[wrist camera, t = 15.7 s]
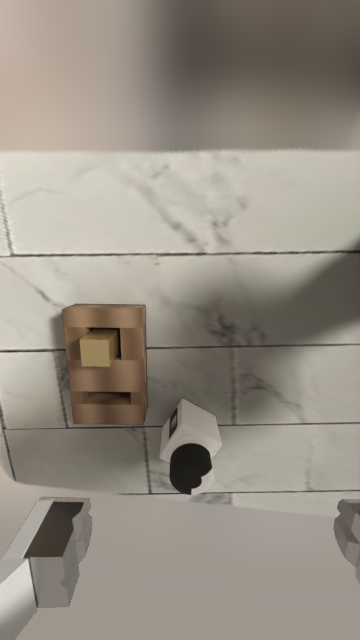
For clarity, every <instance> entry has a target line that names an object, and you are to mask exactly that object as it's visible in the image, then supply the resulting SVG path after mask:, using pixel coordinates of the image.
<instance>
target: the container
mask: <svg viewBox="0 0 360 640" xmlns="http://www.w3.org/2000/svg"><path fill="white" fill-rule="evenodd" d="M221 446H222V442H221V438H220V434H219V430H218V425H217V421H216V417H215V415H213V414H211V413H209V412H207V411H205V410H203V409H202V408H200V407H198V406H196V405H194V404H192V403H190V402H188V401H187V400H185V399H181V400H180V402H179V403H178V405H177V406H176V408H175V409H174V411H173V412H172V414H171V415H170V417H169V418H168V420H167V421H166V423H165V424H164V426H163V428H162V437H161V446H160V456H159V457H160V459H162V460H164V461H166V462H168V463H170V481H171V483H172V485H173V486H174V487H175V488H176V489H177V490H178V491H180V492H181V493H184V494H188V495H196V494H200V493H202V492H204V491H206V490H207V489H208V488H209V487H210V486H211V485H212V483H213V481H214V468H213V462H212V458H213V457H214V455H215V454H216V452H217V451H218V450H219V448H220V447H221Z"/></svg>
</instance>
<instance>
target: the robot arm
mask: <svg viewBox="0 0 360 640" xmlns="http://www.w3.org/2000/svg"><path fill="white" fill-rule="evenodd" d="M90 507H91V505H90V499H89V498H69V497H41V498H40V499H39V500H38V501H37V502H36V504H35V505H34V507H33V508H32V510H31V512H30V513H29V515H28V517H27V518H26V520H25V522H24V523H23V525H22V527H21V528H20V530H19V531H18V533H17V535H16V536H15V538H14V540H13V541H12V543H11V545H10V546H9V548H8V550H7V551H6V553H5V554H4V556H3V558H0V640H15V639H16V637H17V636H18V635H19V633H20V632H21V631H22V630H23V628H24V627H25V626H26V624H27V623H28V622H29V621H30V619H31V618H32V617H33V615H34V614H35V613H36V611H37V608H53V607H69V606H70V603H71V600H72V597H73V593H74V590H75V587H76V584H77V581H78V578H79V566H78V564H79V563H80V562H81V561H82V559H83V558H84V557H85V556H86V553H87V550H88V546H89V542H90V538H91V532H92V517H91V516H90V515H89V514H88V513H89V510H90ZM337 509H338V510H339V512H340V515H339V516H338V517H337V518H336V519H335V521H334V532H335V537H336V540H337V543H338V545H339V548H340V549H341V551H342V553H343V555H344V557H345V558H346V559H347V560H348V561H349V562H350V563H351V564H353V565H354V566H355V571H356V578H357V580H358V581H359V583H360V499H342V500H340V501H339V502H338V507H337Z"/></svg>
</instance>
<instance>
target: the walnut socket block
mask: <svg viewBox="0 0 360 640" xmlns="http://www.w3.org/2000/svg"><path fill="white" fill-rule="evenodd" d="M62 315H63V325H64V335H65V345H66V354H67V364H68V374H69V384H70V393H71V403H72V413H73V423H74V424H123V425H144V421H145V417H146V412H147V408H148V404H147V353H146V305H127V304H74V305H71V306H69V307H66V308H64V309H62ZM96 327H104V328H120V337H121V351H120V353H119V354H118V356H117V357H116V359H115V360H114V361H113V363H112V364H111V366H110V367H98V366H82V362H81V350H80V339H81V338H82V337H84V336H85V335H86V334H88V333H89V332H90V331H92V330H93V329H94V328H96Z"/></svg>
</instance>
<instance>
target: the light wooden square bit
mask: <svg viewBox="0 0 360 640" xmlns="http://www.w3.org/2000/svg"><path fill="white" fill-rule="evenodd" d="M80 350H81V362H82V366H98V367H110V366H111V364H112V363H113V361H114V360H115V359H116V357H117V356H118V354H119V353H120V351H121V337H120V328H104V327H96V328H94V329H93V330H92V331H90V332H89V333H88V334H86V335H85V336H84V337H82V338H81V339H80Z"/></svg>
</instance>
